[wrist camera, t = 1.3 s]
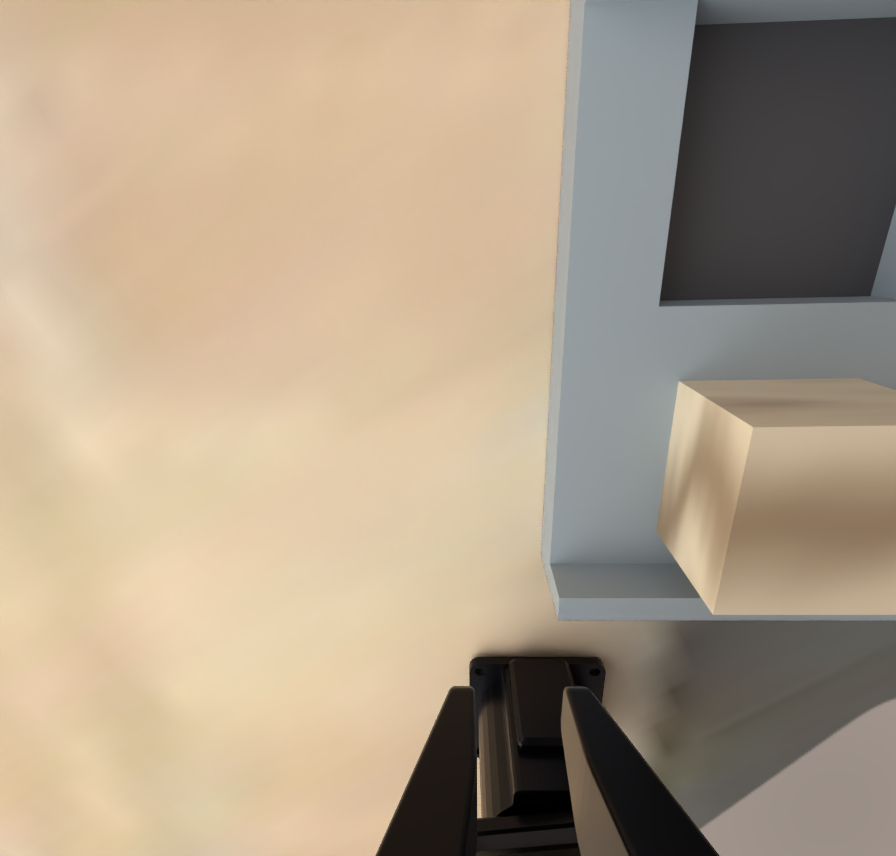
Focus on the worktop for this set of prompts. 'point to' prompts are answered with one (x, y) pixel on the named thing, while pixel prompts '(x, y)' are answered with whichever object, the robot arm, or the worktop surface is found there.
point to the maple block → (784, 495)
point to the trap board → (706, 254)
